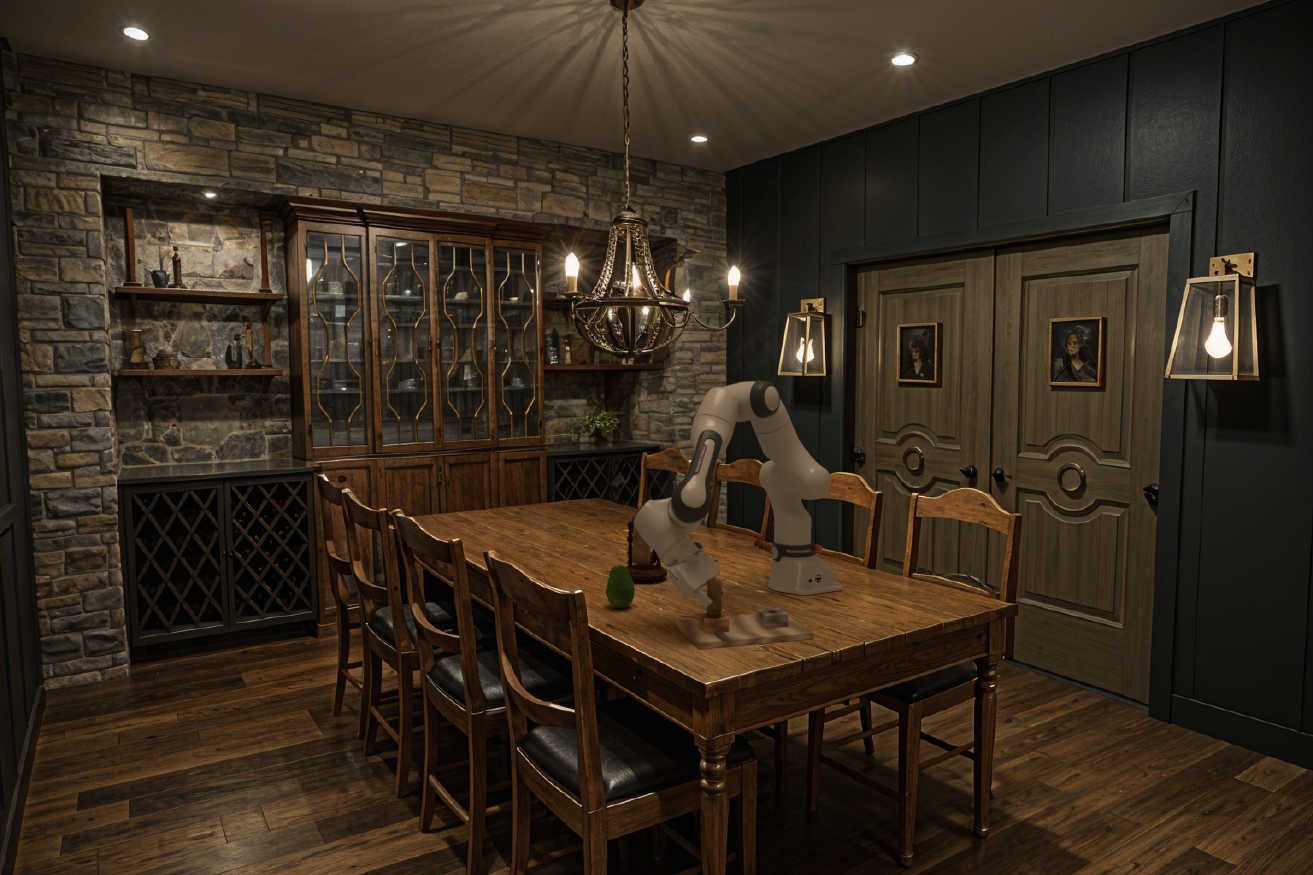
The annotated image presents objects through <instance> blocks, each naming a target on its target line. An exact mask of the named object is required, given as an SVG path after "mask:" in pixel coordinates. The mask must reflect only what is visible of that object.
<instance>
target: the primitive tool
mask: <svg viewBox="0 0 1313 875" xmlns="http://www.w3.org/2000/svg"><path fill="white" fill-rule="evenodd" d="M753 545H754V547H755V546H759V547H760V549H762V548H764V549H765V550H764V549H763V550H764V551H766V550H767V551H766V552H768V551H769V552H768V553H770V554H772V548H773V545H770V544H768V543H766V542H764V541H763V540H762V539H761V538H757V539H755V541H754V543H753ZM759 547H758V548H759Z"/></svg>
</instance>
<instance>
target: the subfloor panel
mask: <svg viewBox="0 0 1313 875" xmlns="http://www.w3.org/2000/svg"><path fill="white" fill-rule="evenodd" d="M675 627H676V628H677V629H678V630H679V631H680V632H681V634H683V635H684V637H686V638H687V639H688V640H689V641H690V643H692V644H693V645H694V646H695V647H696V649H698V650H705V649H706V650H707V649H717V648H729V647H738V646H739V647H741V646H750V645H759V644H772V643H784V642H795V641H805V640H814V638H815V636H814V635H815V634H814V632H813V631H812V630H810V629H808V627H807V628H806V627H805V626H804V625H802V624H801V623H799V622H797V621H796V620H795V619H793V618H792V617H790V616H789V613H787V612H786V611H785V610H783V609H781V608H780V607H771V608H770V607H769V608H757V609H756V613H754V614H753V613H752V614H751V613H750V614H742V615H741V614H740V615H739V614H737V615H727V616H726V615H725V614H723V613H722V612H721V618H717V619H713V618H708V617H707V612H706V613H705V612H703V613H698V614H697V618H689V619H676V620H675Z"/></svg>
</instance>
